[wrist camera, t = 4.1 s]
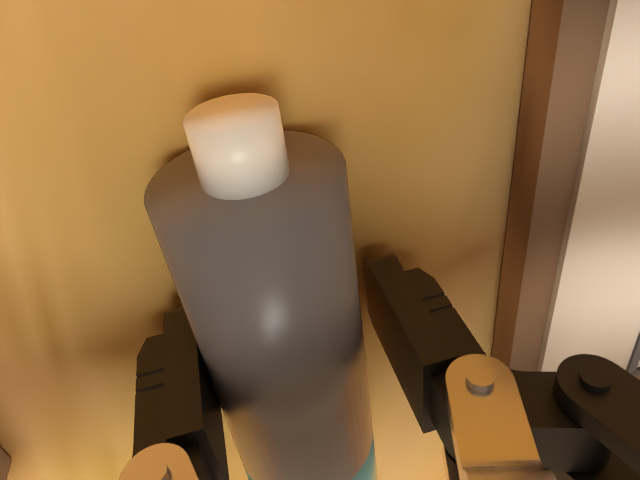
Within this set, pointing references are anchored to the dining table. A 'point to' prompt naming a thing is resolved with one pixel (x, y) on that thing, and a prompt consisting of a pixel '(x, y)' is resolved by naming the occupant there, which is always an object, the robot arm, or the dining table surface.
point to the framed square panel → (575, 192)
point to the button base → (4, 464)
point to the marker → (270, 287)
